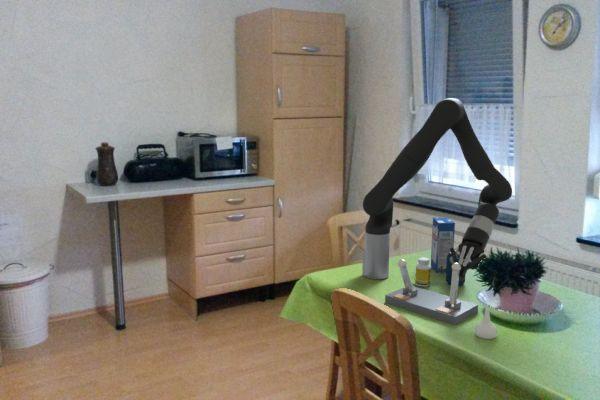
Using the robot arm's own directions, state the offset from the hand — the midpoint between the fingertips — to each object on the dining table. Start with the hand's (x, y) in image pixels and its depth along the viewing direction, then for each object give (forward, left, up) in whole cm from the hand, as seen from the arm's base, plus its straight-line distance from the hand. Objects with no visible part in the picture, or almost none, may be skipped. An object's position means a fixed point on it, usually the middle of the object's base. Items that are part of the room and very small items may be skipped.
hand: (458, 277), depth 174 cm
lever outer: (0, -2, -9) cm, 9 cm away
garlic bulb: (+15, -9, -12) cm, 21 cm away
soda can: (-14, +24, -12) cm, 30 cm away
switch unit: (-8, -2, -12) cm, 14 cm away
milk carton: (-27, +36, -12) cm, 47 cm away
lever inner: (-16, -2, -9) cm, 19 cm away
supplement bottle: (-22, +15, -12) cm, 29 cm away
